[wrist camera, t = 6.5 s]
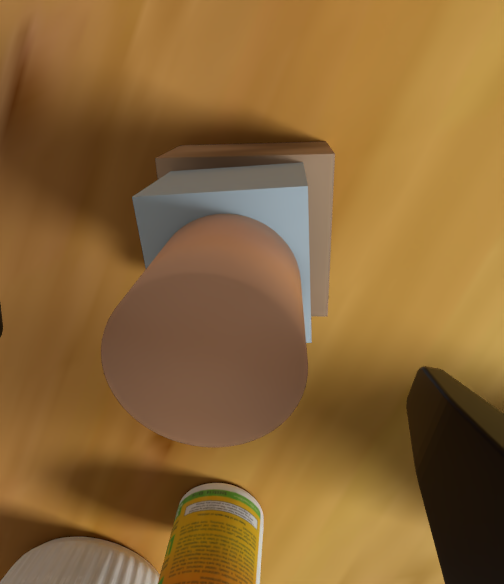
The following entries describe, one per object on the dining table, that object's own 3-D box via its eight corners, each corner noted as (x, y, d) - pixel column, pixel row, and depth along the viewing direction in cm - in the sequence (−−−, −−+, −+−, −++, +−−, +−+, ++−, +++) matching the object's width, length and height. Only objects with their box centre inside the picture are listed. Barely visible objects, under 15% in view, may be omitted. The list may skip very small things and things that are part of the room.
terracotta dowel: (315, 227, 11) (329, 293, 7) (286, 356, 13) (286, 461, 9) (161, 201, 11) (101, 254, 7) (153, 334, 13) (100, 429, 9)
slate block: (303, 162, 14) (307, 186, 11) (306, 286, 16) (311, 342, 13) (170, 171, 15) (132, 197, 11) (188, 291, 17) (160, 346, 13)
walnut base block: (325, 141, 18) (335, 153, 14) (320, 275, 20) (327, 316, 17) (181, 144, 18) (154, 158, 15) (194, 276, 21) (174, 315, 17)
